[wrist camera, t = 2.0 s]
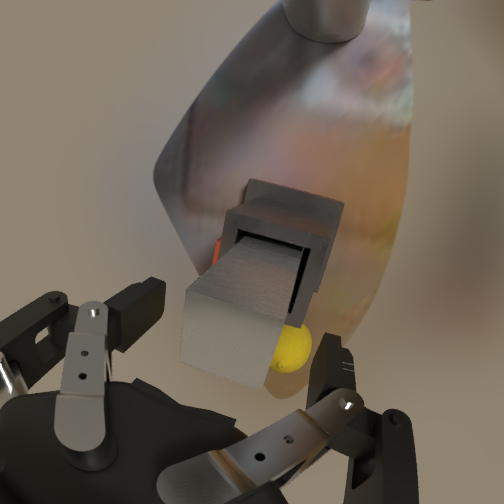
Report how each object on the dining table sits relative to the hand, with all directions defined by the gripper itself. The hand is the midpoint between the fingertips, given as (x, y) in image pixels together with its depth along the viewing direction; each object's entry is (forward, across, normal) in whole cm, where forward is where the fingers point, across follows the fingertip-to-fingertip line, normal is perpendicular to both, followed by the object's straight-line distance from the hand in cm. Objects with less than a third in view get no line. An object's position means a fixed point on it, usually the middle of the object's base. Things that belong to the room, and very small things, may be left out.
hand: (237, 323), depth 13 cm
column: (+17, 0, 0) cm, 17 cm away
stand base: (+19, 0, 0) cm, 19 cm away
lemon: (+19, -4, +11) cm, 22 cm away
